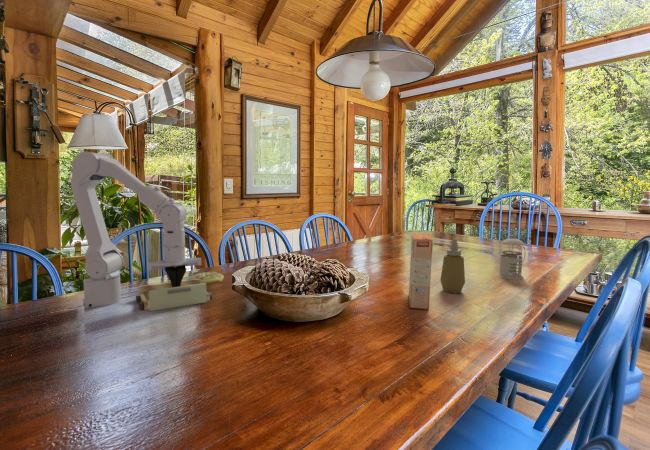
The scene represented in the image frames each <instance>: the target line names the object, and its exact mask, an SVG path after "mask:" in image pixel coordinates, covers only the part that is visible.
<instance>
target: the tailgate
mask: <svg viewBox="0 0 650 450" xmlns="http://www.w3.org/2000/svg"><path fill="white" fill-rule="evenodd" d="M207 292H208V291H207V284H206V283H203V284H195V285H187V286H180V287H172V288H165V289H157V290H149V304H150V310H149V311H150V312H151V311H152V312H153V311H158V310H165V309H172V308H179V307H184V306H191V305H197V304H203V303H204V304H205V303H207V302H208V301H207Z"/></svg>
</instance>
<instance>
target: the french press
mask: <svg viewBox="0 0 650 450" xmlns="http://www.w3.org/2000/svg"><path fill="white" fill-rule="evenodd" d="M511 217H512V218H513V221H515V220H516V219H515V218H517V217H518V215H517V214H516V213H513V214H512V215H511ZM512 228H513V229H512V235H514V232H515V224H513V227H512ZM501 244H504V245H509V246H511V250H503V251H501V253H502V254H501V255H500V259H499V260H500V265H499V273H497V274H496V276H497V277H498V276H499V278H501V279H506V280H516V281H517V280H523V279H524V278H525V277H524V276H523V275H522V268H523V262H524V261H525V258H526V254H524V256H522V255H523V251H522V249H524V252H526V249H525V246H524V245H525V243H524V242H523V241H522V240H520V239H518V238H514V237H512V238H506V239H503V240H502V241H501ZM513 246H516V248H517V249H518V250H520V251H515V250H513V248H514V247H513Z"/></svg>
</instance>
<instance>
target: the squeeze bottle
mask: <svg viewBox="0 0 650 450" xmlns="http://www.w3.org/2000/svg"><path fill="white" fill-rule="evenodd" d="M461 255H462V250H461V249H459V246H458V241H457V238H452V241H451V246H450V248H447V249H446V255H444V256H443V260H442V268H441V272H440V273H441V275H440V279H439V280H440V283H441V287H442V291H444V292H446V293H449V294H459V293H461V292H462V291H463V288H464V287H465V286H464V285H465V284H466V277H465V276H466V275H465V274H466V273H465V272H466V271H465V259H464V256H461Z"/></svg>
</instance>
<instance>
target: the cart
mask: <svg viewBox="0 0 650 450" xmlns="http://www.w3.org/2000/svg"><path fill="white" fill-rule="evenodd" d="M195 284H200V279H193V278H192V279H184V280H183V279H182V281H181V285H180V286H187V285H195ZM165 288H172V285H171V282H170V281H169V282H161V283H152V284H146V285H145V284H144V285H138V295H136V296H135V301H136V304H138V309H139V310H140V311H144V312H146V311H150V304H149V290H157V289H165ZM211 300H213V294H212V292H211V291H210V292H208V291H207V302H208V301H211Z"/></svg>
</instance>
